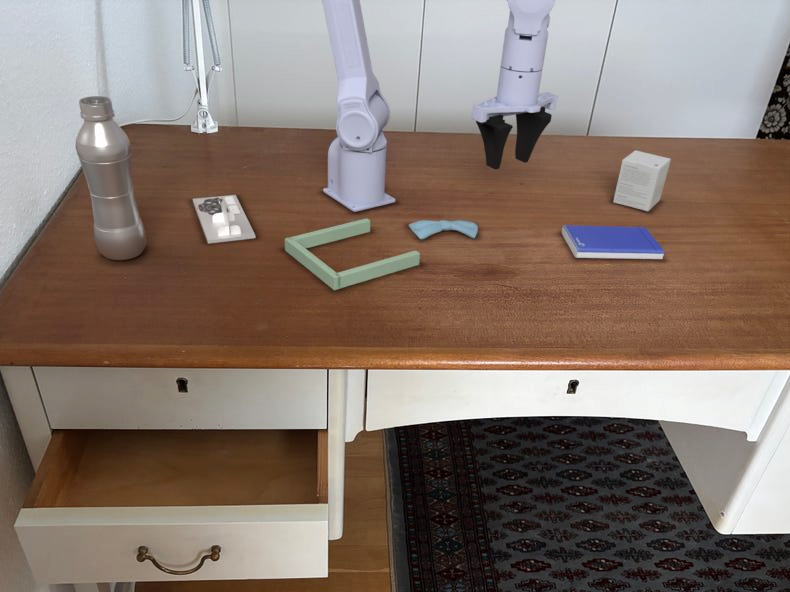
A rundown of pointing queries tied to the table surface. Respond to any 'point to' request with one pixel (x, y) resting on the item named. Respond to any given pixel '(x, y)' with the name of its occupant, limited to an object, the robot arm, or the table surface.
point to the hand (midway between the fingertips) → (507, 163)
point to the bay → (352, 276)
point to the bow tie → (443, 227)
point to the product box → (641, 180)
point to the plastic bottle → (109, 180)
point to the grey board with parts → (223, 219)
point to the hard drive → (611, 242)
